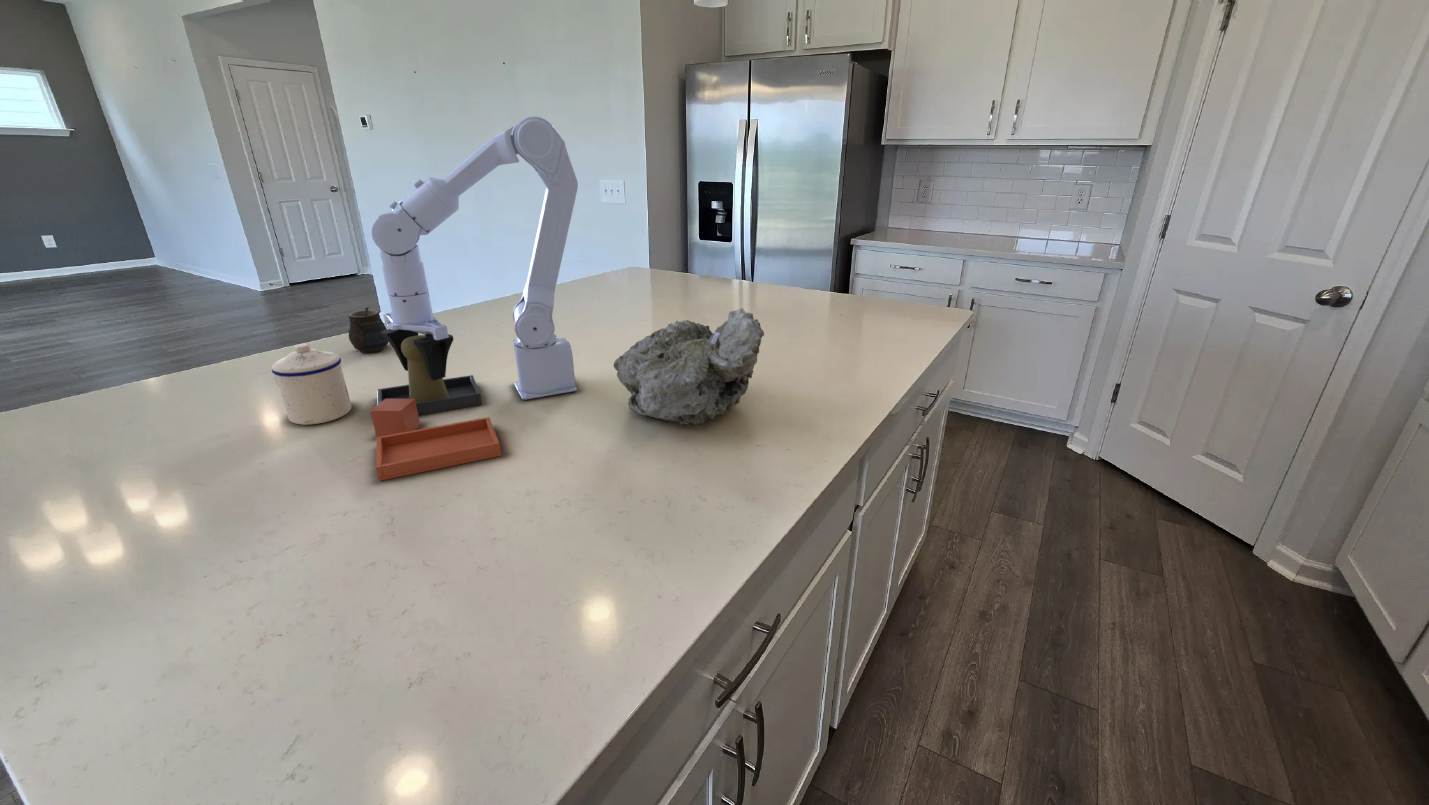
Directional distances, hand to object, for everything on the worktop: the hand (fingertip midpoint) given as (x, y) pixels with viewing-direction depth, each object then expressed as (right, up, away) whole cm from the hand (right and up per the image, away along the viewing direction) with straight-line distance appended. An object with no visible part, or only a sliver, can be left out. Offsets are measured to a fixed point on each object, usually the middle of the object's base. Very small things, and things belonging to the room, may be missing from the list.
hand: (424, 373), depth 97 cm
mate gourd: (-24, +6, +27) cm, 37 cm away
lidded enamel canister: (-17, -7, -2) cm, 18 cm away
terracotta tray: (+9, -12, -14) cm, 21 cm away
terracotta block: (0, -9, -8) cm, 12 cm away
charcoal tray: (0, -5, +2) cm, 5 cm away
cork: (0, -5, +2) cm, 5 cm away
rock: (+44, -6, 0) cm, 44 cm away
